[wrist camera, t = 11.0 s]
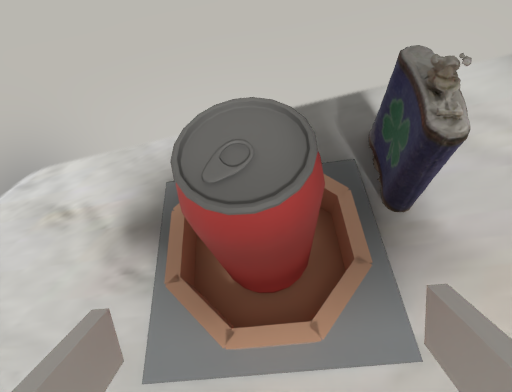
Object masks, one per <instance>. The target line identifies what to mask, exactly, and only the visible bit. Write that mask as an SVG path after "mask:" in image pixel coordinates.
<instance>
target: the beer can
mask: <svg viewBox="0 0 512 392" xmlns="http://www.w3.org/2000/svg"><path fill="white" fill-rule="evenodd" d="M171 167H172V172H173V177H174V180H175V182H176V189H177V194H178V199H179V204H180V207H181V211H182V213H183V215H184V216H185V218H186V219H187V221H188V222H189V224H190V225H191V227H192V228H193V230H194V231H195V232H196V234H197V235H198V236H199V237H200V239H201V240H202V241H203V242H204V244H205V245H206V246H207V247H208V249H209V250H210V251H211V252H212V254H213V255H214V256H215V257H216V259H217V260H218V261H219V262H220V264H221V265H222V266H223V267H224V269H225V270H226V271H227V272H228V274H229V275H230V276H231V277H232V279H233V280H234V281H236V282H237V283H238V284H240V285H241V286H242V287H244V288H245V289H248V290H251V291H254V292H258V293H275V292H277V291H280V290H283V289H285V288H288V287H290V286H291V285H292V284H293V283H294V282H296V281H297V280H298V279H299V278H300V277H301V275H302V274H303V272H304V271H305V269H306V267H307V266H308V261H309V257H310V252H311V248H312V243H313V238H314V234H315V229H316V224H317V220H318V215H319V210H320V206H321V201H322V196H323V192H324V187H325V180H324V174H323V168H322V163H321V157H320V154H319V152H318V150H317V144H316V137H315V133H314V131H313V129H312V128H311V126H310V125H309V123H308V121H307V120H306V118H305V117H303V116H302V115H301V114H300V113H298V112H297V111H296V110H294V109H293V108H292V107H290V106H288V105H285V104H282V103H280V102H277V101H275V100H271V99H264V98H255V97H250V98H239V99H232V100H229V101H226V102H223V103H220V104H216V105H214V106H212V107H210V108H209V109H207V110H205V111H204V112H202V113H200V114H199V115H197V116H196V117H195V118H194V119H193V120H192V121H191V122H190V123H189V124H188V125H187V126H186V127H185V128H183V130H182V132H181V133H180V135H179V137H178V139H177V140H176V142H175V144H174V147H173V152H172V157H171Z"/></svg>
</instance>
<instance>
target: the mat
mask: <svg viewBox="0 0 512 392" xmlns="http://www.w3.org/2000/svg"><path fill="white" fill-rule="evenodd" d="M322 168H323V174H325V175H327V176H329V177H330V178H332V179H334V180H336V181H337V182H339V183H341V184H343V185H344V186H346V187H348V188H349V190H351V193H352V196H353V199H354V203H355V206H356V209H357V213H358V216H359V219H360V222H361V226H362V229H363V232H364V236H365V239H366V242H367V245H368V249H369V252H370V255H371V259H372V262H373V263H372V266H371V268H370V269H369V271H368V272H367V274H366V276H365V277H364V279H363V280H362V282H361V283H360V285H359V286H358V288H357V289H356V291H355V292H354V294H353V295H352V297H351V298H350V300H349V302H348V303H347V305H346V306H345V308H344V309H343V311H342V312H341V314H340V315H339V317H338V318H337V320H336V321H335V323H334V324H333V326H332V327H331V329H330V331H329V332H328V334H327V335H326V337H325V338H324V340H321V341H320V342H316V343H308V344H296V345H285V346H273V347H262V348H250V349H239V350H231V349H226V348H222V347H221V346H220V345H219V344H218V342H217V341H216V340H215V339H214V338H213V337H212V336H211V335H210V334H209V333H208V332H207V331H206V330H205V328H204V327H203V326H202V325H201V324H200V323H199V322H198V321H197V320H196V319H195V318H194V317H193V316H192V315H191V313H190V312H189V311H188V310H187V309H186V308H185V307H184V306H183V305H182V304H181V303H180V302H179V301H178V300H177V298H176V297H175V296H174V295H173V294H172V293H171V292H170V291H169V290H168V289H167V288H166V287H165V286H166V284H164V281H165V271H166V262H167V252H168V242H169V232H170V223H171V213H172V211H174V210H173V208H174V207H175V206H176V205H177V204H179V199H178V194H177V189H176V182H175V181H174V182H167V183H166V191H165V199H164V207H163V216H162V224H161V232H160V240H159V249H158V257H157V265H156V273H155V281H154V290H153V298H152V306H151V314H150V323H149V331H148V339H147V347H146V355H145V364H144V372H143V380H142V384H152V383H164V382H177V381H189V380H201V379H214V378H226V377H238V376H251V375H263V374H275V373H288V372H300V371H312V370H325V369H337V368H349V367H362V366H374V365H386V364H399V363H411V362H423V360H422V357H421V354H420V351H419V348H418V345H417V343H416V340H415V337H414V334H413V331H412V328H411V325H410V322H409V319H408V316H407V313H406V310H405V307H404V304H403V301H402V298H401V295H400V292H399V289H398V286H397V283H396V280H395V277H394V274H393V272H392V269H391V266H390V263H389V260H388V257H387V254H386V251H385V248H384V245H383V242H382V239H381V236H380V233H379V230H378V227H377V224H376V221H375V218H374V215H373V212H372V209H371V206H370V203H369V201H368V198H367V195H366V192H365V189H364V186H363V183H362V180H361V177H360V174H359V171H358V168H357V165H356V162H355V159H353V160H344V161H336V162H328V163H322Z"/></svg>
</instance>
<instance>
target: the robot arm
mask: <svg viewBox="0 0 512 392" xmlns="http://www.w3.org/2000/svg"><path fill="white" fill-rule="evenodd" d="M424 344H425V345H426V347H427V348H428V349H429V351H430V352H431V353H432V355H433V356H434V358H435V359H436V360H437V362H438V363H439V364H440V366H441V367H442V369H443V370H444V371H445V373H446V374H447V375H448V377H449V378H450V380H451V381H452V382H453V384H454V385H455V386H456V388H457V389H458V391H459V392H512V339H511V338H510V337H508V336H507V335H506V334H505V333H504V332H503V331H502V330H500V329H499V328H498V327H497V326H496V325H495V324H493V323H492V322H491V321H490V320H489V319H488V318H486V317H485V316H484V315H483V314H482V313H481V312H479V311H478V310H477V309H476V308H475V307H474V306H472V305H471V304H470V303H469V302H468V301H467V300H466V299H464V298H463V297H462V296H461V295H460V294H459V293H457V292H456V291H455V290H454V289H453V288H452V287H450V286H449V285H448V284H438V285H427V295H426V318H425V340H424ZM123 362H124V359H123V356H122V352H121V349H120V345H119V342H118V338H117V335H116V332H115V328H114V325H113V321H112V318H111V314H110V311H109V309H95V310H91V311H90V312H89V313H88V314H87V315H86V316H85V317H84V318H83V319H82V320H81V321H80V322H79V323H78V325H77V326H76V327H75V328H74V329H73V330H72V331H71V332H70V333H69V334H68V335H67V336H66V337H65V338H64V339H63V340H62V341H61V342H60V343H59V344H58V345H57V346H56V347H55V348H54V349H53V350H52V351H51V352H50V353H49V354H48V355H47V356H46V357H45V358H44V359H43V360H42V361H41V362H40V363H39V364H38V365H37V366H36V367H35V368H34V369H33V370H32V371H31V372H30V373H29V374H28V376H27V377H26V378H25V379H24V380H23V381H22V382H21V383H20V384H19V385H18V386H17V387H16V388H15V389H14V390H13V391H12V392H105V390H106V389H107V387H108V386H109V384H110V382H111V381H112V379H113V378H114V376H115V374H116V373H117V371H118V370H119V368H120V366H121V365H122V363H123Z"/></svg>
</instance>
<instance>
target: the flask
mask: <svg viewBox="0 0 512 392" xmlns="http://www.w3.org/2000/svg"><path fill="white" fill-rule="evenodd" d="M460 58H463V59H462V60H463V62H462V64H465V65H466V66H469V65H470V64H471V61H472V60H471V58H470V57H468V56H466V57H465V55H464V54H463V53H462V54H460ZM459 67H460V62H459V60H458V59H457V58H456V57H455V56H445V57H440V56H439V55H438V54H434V53H433V51H432V50H431V49H429V48H427V47H424V46H420V45H416V46H410V47H406V48H405V49H403V50H401V51H400V53H399V56H398V59H397V62H396V65H395V68H394V71H393V74H392V76H391V78H390V81H389V84H388V87H387V90H386V93H385V96H384V98H383V101H382V103H381V107H380V109H379V111H378V114H377V116H376V119H375V122H374V123H373V126H372V129H371V131H370V134H369V148H372V151H373V157H374V158H373V162H374V163H373V165H374V167H375V169H376V170H377V172H378V173H379V175H380V177H379V178H378V180H379V182H380V183H381V186H382V187H381V190H380V191H381V197H382V203H383V204H384V205H385V206H386V207H388V209H390V210H391V211H394V212H406V211H408V210H409V209H410V208H411V206H412V205H413V204H414V202H415V201H416V199H417V198H418V197H419V196H420V195H421V194H422V192H423V191H424V190H425V189H426V187H427V186H428V184H429V183H430V182H431V181H432V179H433V178H434V177H435V176H436V174H437V173H438V172H439V171H440V169H441V168H442V167H443V165H444V164H446V162H447V161H448V159H449V158H450V157H451V156H452V154H453V153H454V152H455V151H456V150H457V149H458V147H459V146H460V145H461V144H462V143H463V142H464V141H465V140H466V139H467V137H468V134H469V132H470V122H469V119H468V114H467V108H466V104H465V101H464V98H463V96H462V93H461V91H460V79H459V78H458V74H457V72H456V70H458V69H459Z"/></svg>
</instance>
